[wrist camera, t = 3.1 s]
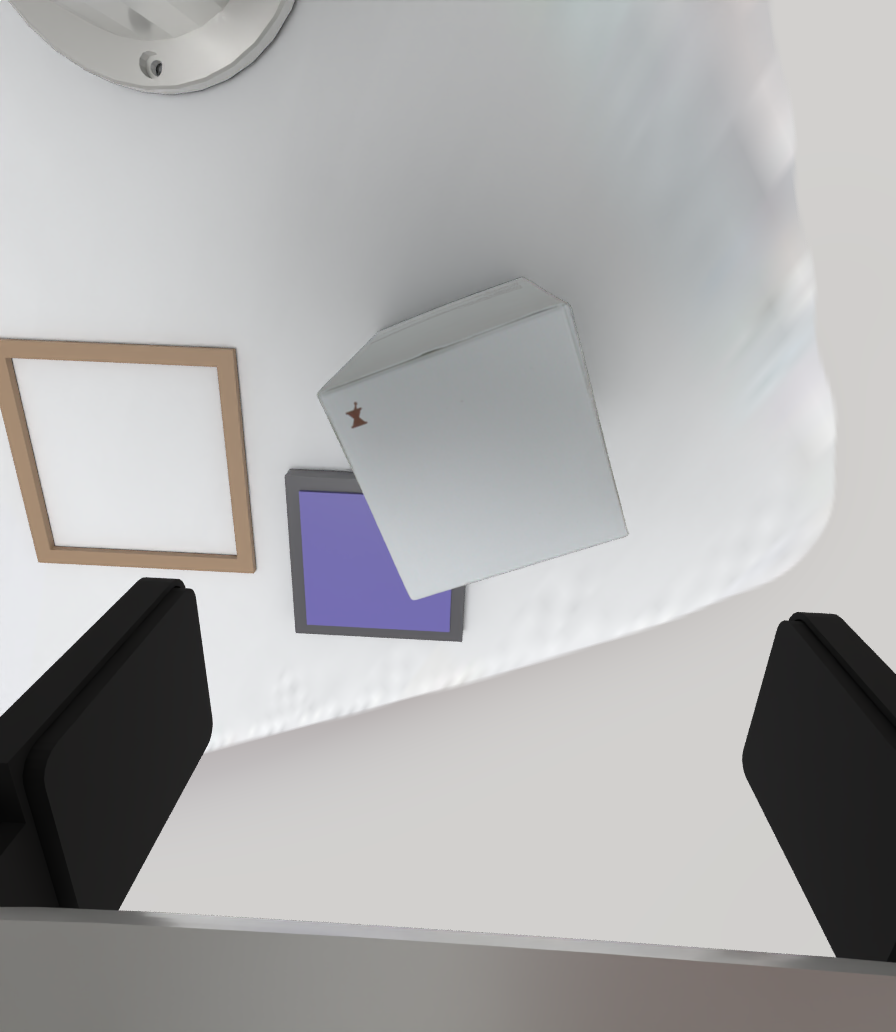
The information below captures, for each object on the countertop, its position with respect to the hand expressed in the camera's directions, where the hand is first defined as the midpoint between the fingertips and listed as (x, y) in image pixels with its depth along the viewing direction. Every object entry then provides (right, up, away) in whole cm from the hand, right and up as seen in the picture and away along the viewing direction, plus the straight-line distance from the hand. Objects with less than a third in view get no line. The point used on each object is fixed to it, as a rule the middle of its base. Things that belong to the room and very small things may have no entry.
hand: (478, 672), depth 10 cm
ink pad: (-4, +1, +23) cm, 24 cm away
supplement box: (+1, +9, +20) cm, 22 cm away
